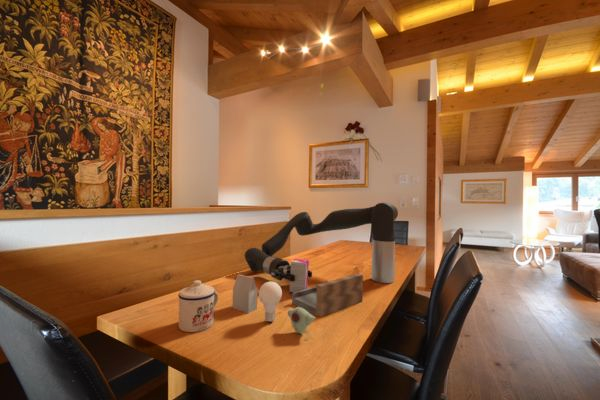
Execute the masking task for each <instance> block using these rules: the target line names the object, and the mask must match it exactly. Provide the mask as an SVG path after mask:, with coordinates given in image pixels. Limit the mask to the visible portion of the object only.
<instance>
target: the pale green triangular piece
mask: <svg viewBox="0 0 600 400" xmlns="http://www.w3.org/2000/svg"><path fill="white" fill-rule="evenodd" d="M287 316H288V317H289V318H290V321H291V326H292V327H293V330H294V331H295V332H296V333H298V334H303V333H304V332H305V331H306V330H307V328H308V326H310V325H311V324H312V323H313V322H314V320H315V319H316V317H317V316H316V317H315V316H314V314H312V313H310V312H308V311H306V310H305V309H303V308H302V307H298V306H297V307H295V308H292V309H291V308H290V309H288V310H287Z"/></svg>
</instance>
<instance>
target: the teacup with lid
mask: <svg viewBox="0 0 600 400" xmlns="http://www.w3.org/2000/svg"><path fill="white" fill-rule="evenodd" d="M177 297H178V298H179V299H178V301H179V302H178V305H179V306H178V328H179V330H181V331H182V332H186V333H196V332H197V333H198V332H202V331H204V330H208V329H209V328H211V326H213V324H214V318H215V317H214V315H215V314H214V311H215V309H214V308H216V306H217V304H218V302H219V294H218V291H216V290H215V288H214V287H213V286H211V285H206V284H204V283H202V281H201V280H199V279H197V280H194V281H193V283H192V284H191V285H189V286H187V287H184V288H182V289H180V290H179V292H178V295H177Z"/></svg>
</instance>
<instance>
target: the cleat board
mask: <svg viewBox="0 0 600 400" xmlns="http://www.w3.org/2000/svg"><path fill="white" fill-rule="evenodd" d="M363 283H364V274H362V273H356V274H352V275H351V274H350V275H348V276H344V277H340V278H336V279H334V280H333V279H332V280H329V281H327V282H326V281H325V282H323V283H322V282H321V283H318V284H316V285H315V286H312V287H307V289H304V290H301V291H297V292H294V293H292V295H291V297H292V299H291V300H292V301H291V302H292V303H291V304H292V305H294V306H297V307H302V308H303V309H305V310H306V311H307V312H309V313H310V314H312V315H315V316H316V317H319V318H323V317H326V316H328V315H331V314H333V313H336V312H338V311H341V310H344V309H347V308H349V307H352V306H354V305H357V304H359V303H361V302H363V291H364V290H363V287H364V286H363Z"/></svg>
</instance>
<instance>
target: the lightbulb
mask: <svg viewBox="0 0 600 400" xmlns="http://www.w3.org/2000/svg"><path fill="white" fill-rule="evenodd" d="M282 296H283V291H282V288H281V286H280V284H278V282H275V281H266V282H264V283H263V284H262V285H261V287H260V289H259V291H258V297H259V300H260V302H261V303H262V305H263V309H264V314H265V315H264V321H265V322H267V323H272V322H274V321H275V318H276V317H275V316H276V315H275V314H276V309H277V306H278V304H279V303H280V301H281V299H282Z"/></svg>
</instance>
